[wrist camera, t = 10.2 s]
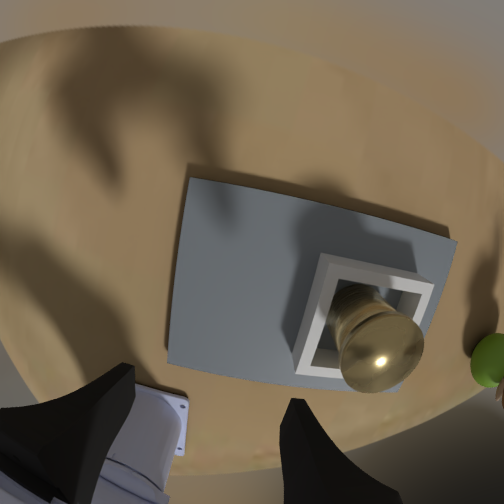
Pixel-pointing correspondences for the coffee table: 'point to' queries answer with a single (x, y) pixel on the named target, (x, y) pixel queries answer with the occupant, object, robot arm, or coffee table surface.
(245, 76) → the coffee table surface
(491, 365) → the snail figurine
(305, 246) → the fitting board
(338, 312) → the brass door knob
